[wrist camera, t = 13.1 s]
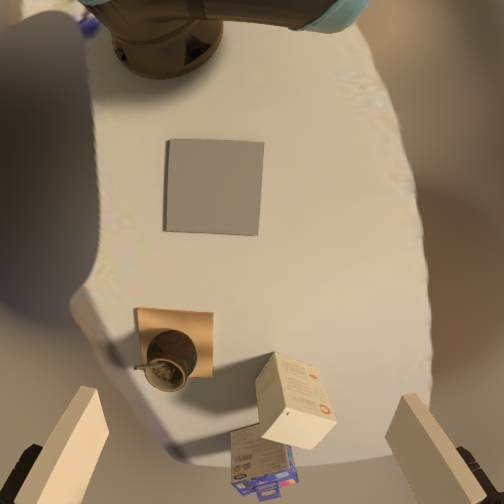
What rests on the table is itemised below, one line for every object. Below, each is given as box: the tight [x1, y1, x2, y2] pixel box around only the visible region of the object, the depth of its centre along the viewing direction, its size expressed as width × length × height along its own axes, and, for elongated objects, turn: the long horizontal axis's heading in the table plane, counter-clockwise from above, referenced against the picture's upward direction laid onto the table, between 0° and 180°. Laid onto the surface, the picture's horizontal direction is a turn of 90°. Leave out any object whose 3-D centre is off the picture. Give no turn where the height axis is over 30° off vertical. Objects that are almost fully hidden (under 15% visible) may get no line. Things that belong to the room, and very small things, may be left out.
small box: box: [255, 352, 337, 450], centre depth 41 cm, size 8×6×13 cm
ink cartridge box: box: [231, 424, 299, 501], centre depth 44 cm, size 10×6×14 cm, turn 112°
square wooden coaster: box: [137, 307, 213, 378], centre depth 45 cm, size 11×11×1 cm
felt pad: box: [167, 139, 264, 235], centre depth 40 cm, size 12×12×1 cm
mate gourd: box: [134, 330, 197, 392], centre depth 40 cm, size 7×8×10 cm
